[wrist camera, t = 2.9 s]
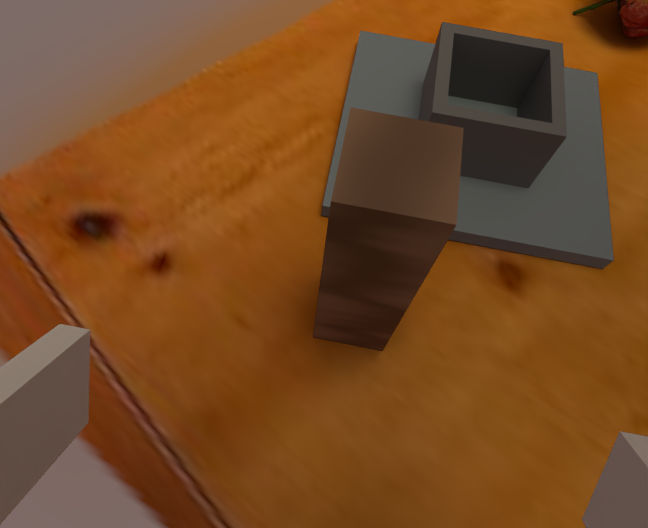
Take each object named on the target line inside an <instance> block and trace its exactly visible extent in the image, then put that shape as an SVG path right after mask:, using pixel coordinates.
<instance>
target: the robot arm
mask: <svg viewBox="0 0 648 528" xmlns="http://www.w3.org/2000/svg"><path fill="white" fill-rule="evenodd" d="M89 359H90V330H89V329H84V328H79V327H74V326H68V325H63V324H59V325H58V326H56V327H55V328H54V329H52V330H51V331H49V332H48V333H47V334H45V335H44V336H43V337H41V338H40V339H39V340H37V341H36V342H34V343H33V344H32V345H30V346H29V347H28V348H26V349H25V350H23V351H22V352H21V353H19V354H18V355H17V356H15V357H14V358H12V359H11V360H10V361H8V362H7V363H6V364H4V365H3V366H1V367H0V524H1V523H2V522H3V521H4V520H5V518H6V517H7V516H8V515H9V514H10V513H11V512H12V510H13V509H14V508H15V507H16V506H17V504H18V503H19V502H20V501H21V500H22V499H23V498H24V496H25V495H26V494H27V493H28V492H29V491H30V489H31V488H32V487H33V486H34V485H35V484H36V483H37V481H38V480H39V479H40V478H41V477H42V476H43V474H44V473H45V472H46V471H47V470H48V469H49V467H50V466H51V465H52V464H53V463H54V462H55V461H56V459H57V458H58V457H59V456H60V455H61V454H62V452H63V451H64V450H65V449H66V448H67V447H68V445H69V444H70V443H71V442H72V441H73V440H74V439H75V437H76V436H77V435H78V434H79V433H80V432H81V430H82V429H83V428H84V427H85V426H86V425H87V423H88V410H89ZM582 520H583V522H584V524H585V526H586V528H648V437H647V436H642V435H637V434H631V433H626V432H621V431H620V432H619V435H618V437H617V439H616V442H615V444H614V446H613V449H612V451H611V453H610V456H609V458H608V460H607V463H606V465H605V467H604V469H603V472H602V474H601V476H600V479H599V481H598V483H597V486H596V488H595V490H594V493H593V495H592V497H591V500H590V502H589V504H588V507H587V509H586V511H585V514H584V516H583V518H582Z"/></svg>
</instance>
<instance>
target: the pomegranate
mask: <svg viewBox="0 0 648 528" xmlns="http://www.w3.org/2000/svg"><path fill="white" fill-rule="evenodd" d="M613 1H616V4H617V9H618V14H620V17H621V19H622V29H623V32H624V35H625V36H627V37H642V36H647V35H648V0H603V1H600V2H598V3H596V4H593V5H590V6H587V7H585V8H582V9H579V10H576V11H574V12H573V15H576V14H579V13H583V12H585V11H587V10H594V9H596V8H598V7H599V6H601V5H604V4H606V3H609V2H613Z"/></svg>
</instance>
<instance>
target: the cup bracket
mask: <svg viewBox="0 0 648 528" xmlns="http://www.w3.org/2000/svg"><path fill="white" fill-rule="evenodd" d="M351 107H352V108H358V109H363V110H368V111H374V112H379V113H385V114H390V115H396V116H401V117H407V118H412V119H418V120H423V121H429V122H434V123H440V124H445V125H451V126H456V127H461V128H464V130H463V143H462V157H461V171H460V184H459V198H458V211H457V225H456V227H455V228H454V230H453V232H452V233H451V235H450V237H449V238H448V240H452V241H458V242H463V243H468V244H474V245H479V246H484V247H490V248H495V249H500V250H506V251H511V252H516V253H521V254H527V255H532V256H537V257H543V258H548V259H553V260H559V261H564V262H569V263H575V264H580V265H585V266H590V267H596V268H601V269H603V268H604V267H606V266H607V265H608V264H609V263H611V262H612V261H613V260H614V258H613V247H612V236H611V224H610V213H609V201H608V190H607V179H606V167H605V156H604V144H603V133H602V121H601V110H600V99H599V87H598V76H597V73H595V72H589V71H583V70H578V69H572V68H567V67H564V62H563V43H558V42H552V41H547V40H541V39H535V38H530V37H524V36H518V35H513V34H507V33H501V32H496V31H490V30H485V29H479V28H473V27H468V26H462V25H456V24H451V23H445V22H442V24H441V28H440V31H439V34H438V37H437V40H436V44H432V43H427V42H421V41H415V40H410V39H404V38H399V37H393V36H387V35H382V34H376V33H371V32H365V31H360V36H359V40H358V45H357V49H356V54H355V58H354V63H353V68H352V72H351V77H350V81H349V86H348V90H347V95H346V100H345V104H344V109H343V113H342V118H341V122H340V127H339V132H338V136H337V141H336V145H335V150H334V155H333V159H332V164H331V168H330V173H329V177H328V182H327V187H326V191H325V196H324V200H323V205H322V214H321V216H325V217H329V212H330V205H331V199H332V194H333V189H334V184H335V180H336V175H337V170H338V165H339V161H340V156H341V151H342V146H343V142H344V137H345V132H346V127H347V123H348V118H349V113H350V108H351Z"/></svg>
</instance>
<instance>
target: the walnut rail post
mask: <svg viewBox="0 0 648 528" xmlns="http://www.w3.org/2000/svg"><path fill="white" fill-rule="evenodd" d="M463 130H464V128H461V127H456V126H451V125H445V124H440V123H434V122H429V121H423V120H418V119H412V118H407V117H401V116H396V115H390V114H385V113H379V112H374V111H368V110H363V109H358V108H352V107H351V108H350V113H349V118H348V123H347V127H346V132H345V137H344V142H343V146H342V151H341V156H340V161H339V165H338V170H337V175H336V180H335V184H334V189H333V194H332V199H331V205H330V212H329V220H328V227H327V235H326V242H325V250H324V257H323V265H322V273H321V280H320V288H319V295H318V303H317V310H316V318H315V325H314V333H313V337H314V338H319V339H324V340H329V341H334V342H339V343H344V344H350V345H355V346H360V347H365V348H370V349H375V350H380V351H383V349H384V347H385V346H386V344H387V342H388V341H389V339H390V337H391V335H392V334H393V332H394V330H395V329H396V327H397V325H398V324H399V322H400V320H401V318H402V317H403V315H404V313H405V312H406V310H407V308H408V307H409V305H410V303H411V301H412V300H413V298H414V296H415V295H416V293H417V291H418V290H419V288H420V286H421V284H422V283H423V281H424V279H425V278H426V276H427V274H428V273H429V271H430V269H431V267H432V266H433V264H434V262H435V261H436V259H437V257H438V256H439V254H440V252H441V250H442V249H443V247H444V245H445V244H446V242H447V240H448V238H449V237H450V235H451V233H452V232H453V230H454V228H455V227H456V225H457V211H458V198H459V184H460V171H461V157H462V143H463Z"/></svg>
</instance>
